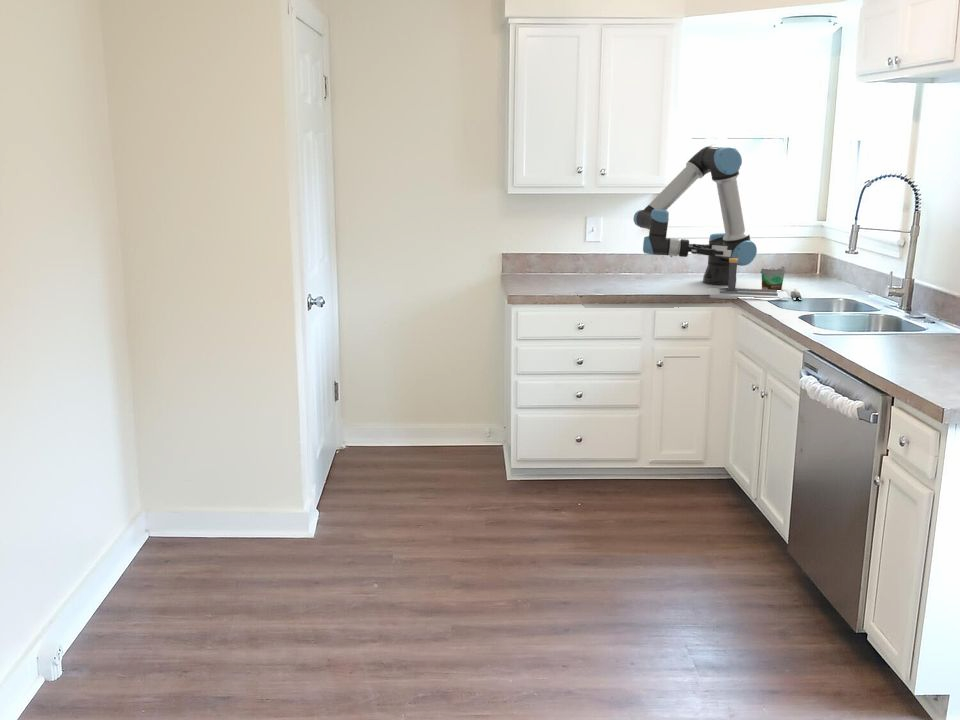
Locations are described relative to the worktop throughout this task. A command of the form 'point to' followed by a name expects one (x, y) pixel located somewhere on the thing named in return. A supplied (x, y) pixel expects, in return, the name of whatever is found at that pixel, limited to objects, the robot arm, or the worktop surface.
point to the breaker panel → (746, 293)
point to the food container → (772, 278)
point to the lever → (732, 275)
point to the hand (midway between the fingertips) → (729, 251)
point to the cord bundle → (795, 294)
